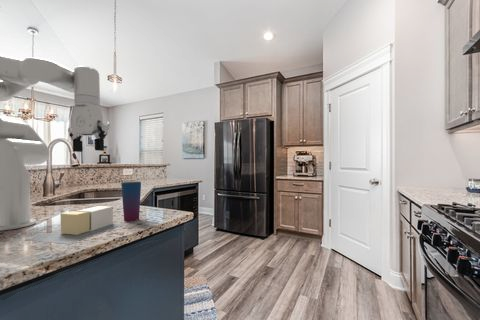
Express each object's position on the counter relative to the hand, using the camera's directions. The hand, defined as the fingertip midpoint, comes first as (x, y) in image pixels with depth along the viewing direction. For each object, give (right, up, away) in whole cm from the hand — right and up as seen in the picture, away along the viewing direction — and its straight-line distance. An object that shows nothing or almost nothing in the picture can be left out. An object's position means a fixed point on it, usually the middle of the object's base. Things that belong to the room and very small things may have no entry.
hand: (88, 151), depth 80 cm
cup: (+13, -27, +5) cm, 30 cm away
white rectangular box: (+5, -26, -4) cm, 26 cm away
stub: (+3, -26, -10) cm, 28 cm away
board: (+3, -27, -9) cm, 28 cm away
